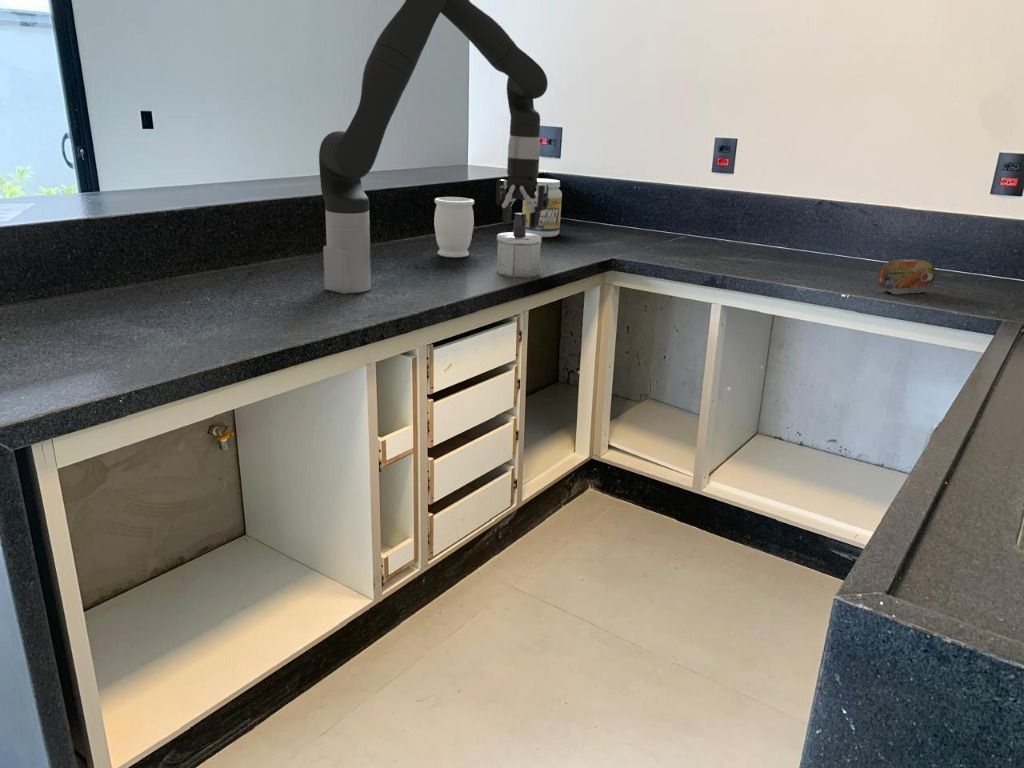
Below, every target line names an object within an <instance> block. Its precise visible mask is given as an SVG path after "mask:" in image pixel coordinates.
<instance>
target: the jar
mask: <svg viewBox="0 0 1024 768" xmlns="http://www.w3.org/2000/svg"><path fill="white" fill-rule="evenodd" d="M434 203H435V204H436V205H435V206H436V207H435V210H434V219H433V220H434V221H433V225H434V232H435V239H436V244H437V246H438V247H439V250H438V251H437V254H438V255H439V256H441V257H444V258H452V259H453V258H455V259H456V258H457V259H458V258H459V259H460V258H466V257H468V256H469V255H470V253H469V250H468V249H469V247H470V245H471V242H472V236H473V233H474V226H475V221H474V220H475V219H474V216H475V215H474V209H473V205H474V204H475V200H474V199H473V198H468V197H460V196H441V197H436V198H434Z"/></svg>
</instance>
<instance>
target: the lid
mask: <svg viewBox="0 0 1024 768" xmlns="http://www.w3.org/2000/svg"><path fill="white" fill-rule="evenodd" d="M526 215H527V214H526V213H522V212H515V213H514V214H513V231H511V232H509V231H508V232H501V233H500V232H499V233H498V234H496V242H497V243H498V242H500V243H504V244H510V245H537V244H540V243H541V244H542V238H543V237H541V236H539V235H536V234H531V233H526Z"/></svg>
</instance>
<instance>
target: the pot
mask: <svg viewBox="0 0 1024 768" xmlns="http://www.w3.org/2000/svg"><path fill="white" fill-rule="evenodd" d="M541 244H542V242H541V243H540V244H537V245H510V244H504V243H500V242H498V241H497V261H496V262H497V263H496V264H497V265H496V272H497V273H498V275H499V276H503V275H505V276H504V277H508V276H511V277H510V278H516V277H528V279H529V278H533V277H537V276H539V275H540V263H541V262H540V261H541V260H540V259H541V258H540V257H541Z"/></svg>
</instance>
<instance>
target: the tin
mask: <svg viewBox="0 0 1024 768" xmlns="http://www.w3.org/2000/svg"><path fill="white" fill-rule="evenodd" d="M935 278H936V267H935V266H934V264H933V263H932V262H931V261H929V260H926V259H900V260H899V259H895V260H894V259H893V260H890V261H888V262H886V263H885V264H884V265H883V266H882V268H881V269H880V271H879V275H878V285H879V287H880V288H881V287H882V288H885V289H892V288H913V287H930V288H931V287H932V285H933V284H934V281H935V280H936V279H935Z"/></svg>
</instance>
